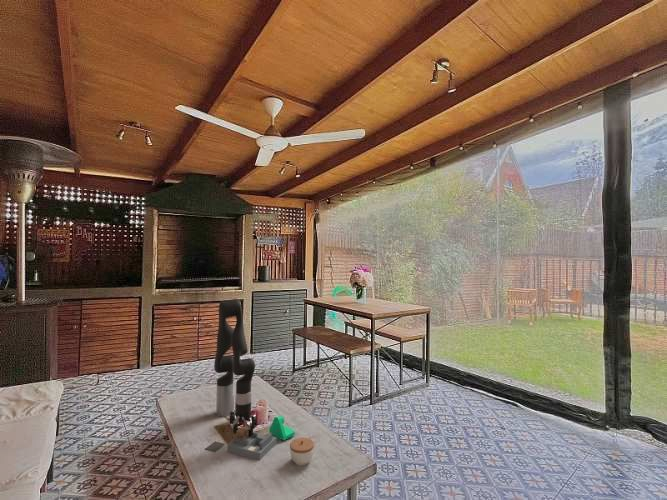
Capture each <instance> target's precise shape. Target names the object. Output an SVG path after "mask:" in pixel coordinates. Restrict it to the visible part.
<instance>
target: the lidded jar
mask: <svg viewBox="0 0 667 500" xmlns="http://www.w3.org/2000/svg"><path fill="white" fill-rule="evenodd" d="M314 448H315V442H314V441H313V440H312V439H311V438H309V437H298V438H295V439H293V440H292V441H291V442H290V444H289V449H290V450H289V452H290V453H289V454H290V458H291V460H292V461H293V462H294V464H295V465H298V466H301V467H302V466H303V467H304V466H306V465H308V464H309V462H310V461H311V460H312V459H313V456H314V450H315V449H314Z"/></svg>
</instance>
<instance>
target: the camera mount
mask: <svg viewBox="0 0 667 500" xmlns="http://www.w3.org/2000/svg"><path fill="white" fill-rule="evenodd" d="M284 423H285V418H284V416H283V415H282V414H279V415H277V416H275V417H274V419H273V420H272V423H271V425H270V426H269V431H268V432H269V433H271V434H272V435H273V437H275V438H276V439H277V440H283V441H285V440H288V439H291V438H292V437H294V436H295V434H296V433H295V432H296V431H295V429H292V428H290V427H289V426H287V425H285V424H284Z"/></svg>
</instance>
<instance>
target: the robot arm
mask: <svg viewBox="0 0 667 500" xmlns="http://www.w3.org/2000/svg"><path fill="white" fill-rule="evenodd" d="M218 305H219V306H218V326H217V327H218V328H217V335H216V336H217V338H216V353H215V358H214V364H213V365H214V366H213V367H214V371H215V373H218V374H220V373H221V374H222V373H225V374H224V375H222V376H220V377H218V378H217V380H216V403H215V404H216V405H215V406H216V407H215V411H216V413H215V414H216V416H217V417H219V418H221V417H224V418H225V417H228V416H229V422H228V423H229V424H230V425H232V432H233V434H234V435H236V431H237V430H239V426H238V425H239V424H238V423H242V424H245V427H247V428H249V429H248V437H251V436H252V435H253V432H254V429H255V428H257V426H258V417H257V414H256V413H254V414H252V413H251V411H252V380H253V377H254V373H255V369H256V362H255V361H254V359H253V358H250V357H249V358H243V359H241V357H242V356H245V355H246V354H248V351H249V350H248V345H247V341H246V335H245V328H244V327H245V326H244V317H243V309H242V304H241V301H240V300H239V298H233V299H226V300H222V301H220V302H219V304H218ZM234 317H235V319H236V322H235V323H236V324H235V326H234V329H233V327H232V326H231V325H230V324H229V323H228V321H227V319H228V318H234ZM230 349H232V353H233V354H231V355H225V354H227V352H228V351H229V350H230ZM234 375H235V376H242V377H240V378H239V379H237V380H236V384H235V386H236V387H235V394H234ZM234 397H235V398H234ZM234 402H235V403H234ZM234 406H235V407H234Z"/></svg>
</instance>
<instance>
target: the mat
mask: <svg viewBox="0 0 667 500" xmlns="http://www.w3.org/2000/svg"><path fill="white" fill-rule="evenodd" d="M224 446H226V443H223V442H220V441H213V442H212V443H210V445H208V446H207V447H206V448H204V450H205V451H209V452H213V453H216V452H217V451H218V450H220V449H221V448H222V447H224Z"/></svg>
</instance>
